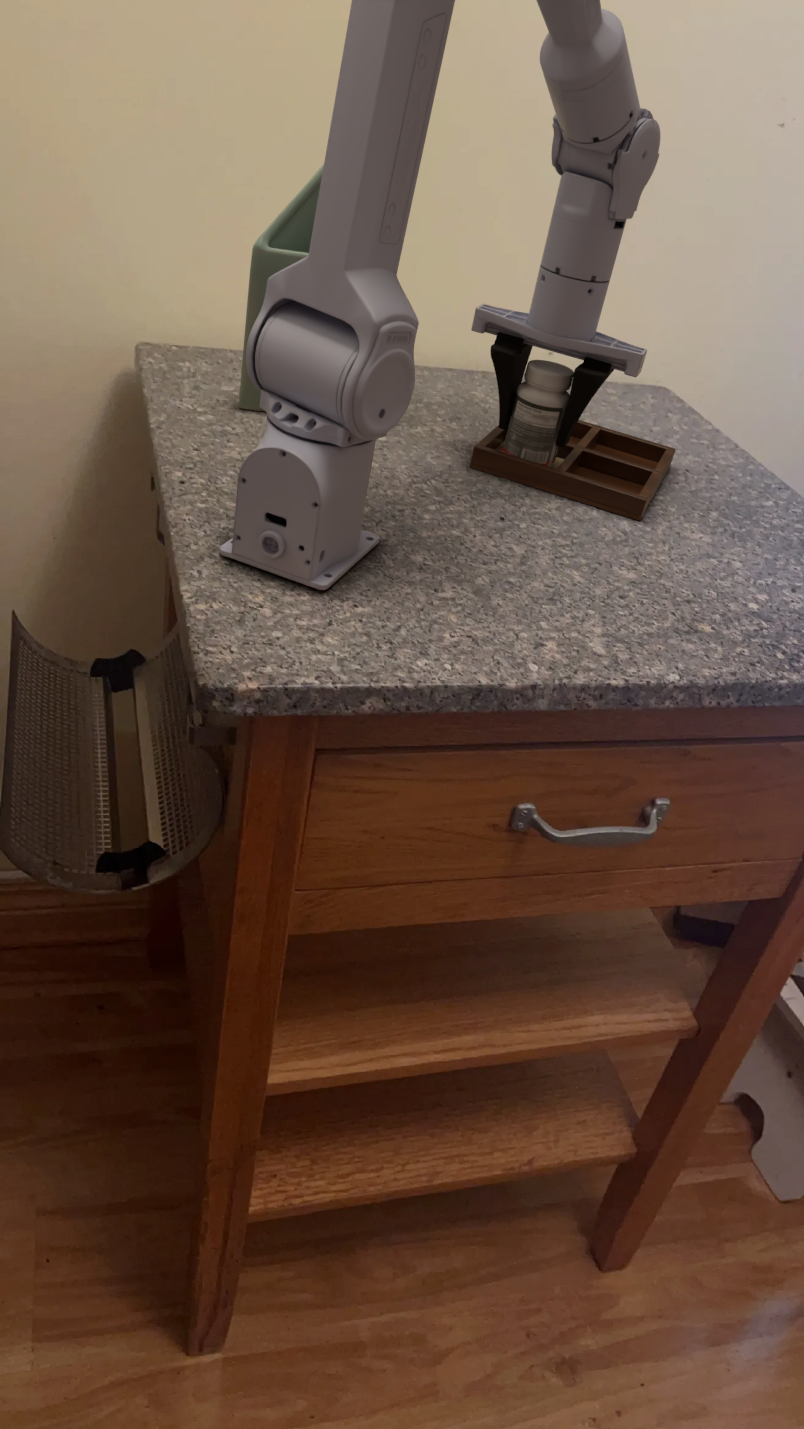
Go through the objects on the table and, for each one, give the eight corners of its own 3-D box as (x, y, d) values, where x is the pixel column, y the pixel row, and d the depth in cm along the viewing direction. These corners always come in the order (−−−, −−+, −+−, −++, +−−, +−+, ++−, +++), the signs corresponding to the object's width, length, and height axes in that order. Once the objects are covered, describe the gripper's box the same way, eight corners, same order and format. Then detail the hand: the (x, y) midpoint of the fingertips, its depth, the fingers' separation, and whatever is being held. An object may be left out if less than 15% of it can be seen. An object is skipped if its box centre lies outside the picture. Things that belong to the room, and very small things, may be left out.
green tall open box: (302, 438, 89) (333, 185, 77) (236, 406, 92) (257, 160, 81) (414, 407, 100) (455, 184, 89) (352, 380, 104) (384, 162, 92)
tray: (639, 521, 87) (646, 500, 86) (469, 467, 90) (473, 446, 89) (669, 467, 99) (676, 448, 98) (518, 421, 102) (523, 402, 101)
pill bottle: (520, 446, 95) (542, 354, 90) (562, 465, 93) (588, 372, 88) (490, 455, 91) (512, 361, 87) (534, 475, 89) (559, 379, 84)
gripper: (670, 287, 84) (622, 446, 92) (505, 244, 88) (471, 400, 95) (655, 302, 79) (605, 469, 87) (479, 254, 82) (445, 420, 90)
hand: (533, 435), depth 91 cm, fingers closed on pill bottle, 5 cm apart
